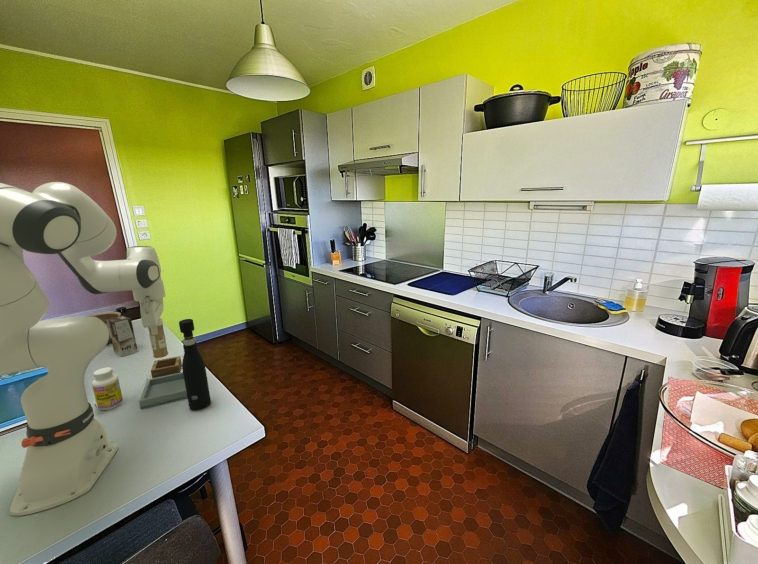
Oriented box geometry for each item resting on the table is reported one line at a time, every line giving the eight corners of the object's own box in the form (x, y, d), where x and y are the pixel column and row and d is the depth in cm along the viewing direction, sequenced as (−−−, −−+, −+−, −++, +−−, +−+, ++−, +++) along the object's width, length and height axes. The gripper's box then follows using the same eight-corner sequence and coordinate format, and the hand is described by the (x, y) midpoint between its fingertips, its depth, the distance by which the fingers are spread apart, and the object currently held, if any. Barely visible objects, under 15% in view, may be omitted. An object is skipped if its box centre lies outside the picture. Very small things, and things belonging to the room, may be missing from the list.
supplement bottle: (95, 413, 104) (85, 378, 101) (101, 402, 110) (93, 368, 107) (120, 407, 107) (112, 373, 104) (125, 397, 113) (118, 364, 109)
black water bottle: (207, 397, 112) (194, 315, 105) (213, 405, 108) (200, 320, 100) (186, 405, 108) (171, 321, 100) (192, 413, 103) (176, 326, 96)
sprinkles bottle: (168, 356, 114) (162, 320, 111) (153, 359, 112) (146, 323, 109) (168, 352, 118) (161, 316, 115) (153, 355, 115) (146, 319, 112)
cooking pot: (74, 340, 160) (67, 317, 157) (121, 329, 174) (116, 307, 171) (82, 355, 144) (75, 330, 141) (133, 341, 158) (128, 318, 155)
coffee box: (138, 351, 147) (131, 318, 143) (122, 357, 142) (114, 322, 138) (130, 346, 152) (122, 314, 148) (113, 352, 147) (105, 319, 143)
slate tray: (192, 396, 112) (191, 389, 112) (140, 409, 106) (139, 401, 105) (195, 376, 125) (194, 369, 125) (148, 386, 119) (147, 379, 118)
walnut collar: (179, 374, 127) (178, 365, 126) (152, 380, 123) (150, 371, 122) (181, 364, 135) (180, 356, 134) (156, 369, 131) (154, 360, 130)
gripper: (156, 298, 102) (163, 339, 105) (163, 286, 120) (170, 321, 123) (131, 301, 99) (140, 343, 102) (143, 288, 117) (150, 324, 120)
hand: (156, 331), depth 113 cm, fingers closed on sprinkles bottle, 4 cm apart
